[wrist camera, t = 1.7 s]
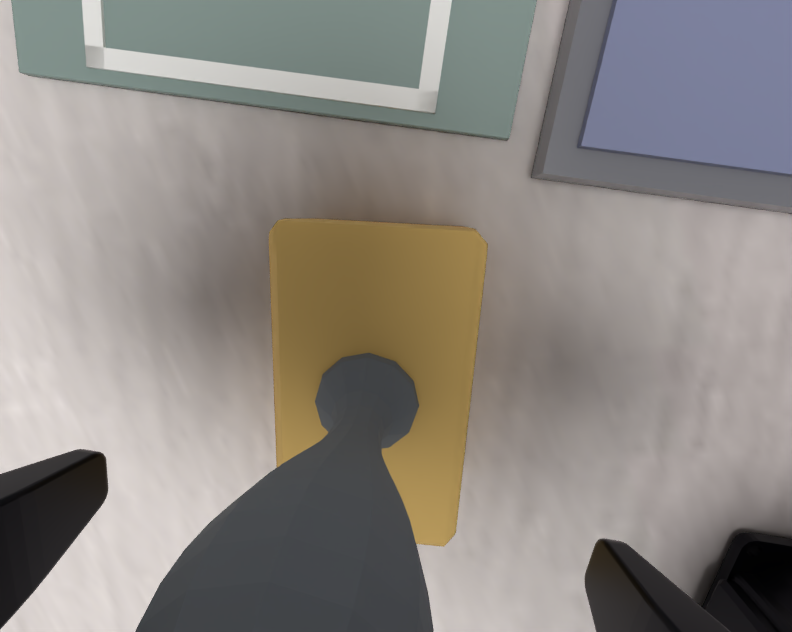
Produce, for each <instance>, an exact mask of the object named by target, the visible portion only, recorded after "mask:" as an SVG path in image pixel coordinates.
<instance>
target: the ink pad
mask: <svg viewBox="0 0 792 632" xmlns="http://www.w3.org/2000/svg"><path fill="white" fill-rule="evenodd" d="M531 178H538V179H545V180H553V181H560V182H567V183H574V184H582V185H589V186H596V187H603V188H610V189H618V190H625V191H632V192H639V193H647V194H654V195H661V196H668V197H676V198H683V199H690V200H697V201H704V202H712V203H719V204H726V205H733V206H741V207H748V208H755V209H762V210H770V211H777V212H784V213H791V214H792V0H570V3H569V7H568V12H567V17H566V21H565V26H564V30H563V35H562V39H561V44H560V49H559V53H558V58H557V62H556V67H555V71H554V76H553V80H552V85H551V90H550V94H549V99H548V103H547V108H546V112H545V117H544V121H543V126H542V131H541V135H540V140H539V144H538V149H537V153H536V158H535V163H534V167H533V172H532V176H531Z"/></svg>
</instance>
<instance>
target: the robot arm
mask: <svg viewBox="0 0 792 632" xmlns="http://www.w3.org/2000/svg"><path fill="white" fill-rule="evenodd" d="M107 493H108V478H107V464H106V457H105V456H104V454H103V453H101V452H97V451H91V450H85V449H78V450H74V451H71V452H68V453H65V454H62V455H58V456H55V457H52V458H49V459H46V460H43V461H40V462H37V463H34V464H30V465H27V466H24V467H21V468H18V469H15V470H12V471H9V472H6V473H2V474H0V629H1V628H2V627H3V626H4V625H5V624H6V623H7V621H8V620H9V619H10V618H11V617H12V616H13V615H14V614H15V613H16V612H17V610H18V609H19V608H20V607H21V606H22V605H23V604H24V602H25V601H26V600H27V599H28V598H29V597H30V596H31V594H32V593H33V592H34V591H35V590H36V588H37V587H38V586H39V585H40V583H41V582H42V581H43V580H44V579H45V577H46V576H47V575H48V574H49V572H50V571H51V570H52V568H53V567H54V566H55V565H56V563H57V562H58V561H59V559H60V558H61V557H62V556H63V554H64V553H65V552H66V551H67V549H68V548H69V547H70V545H71V544H72V543H73V542H74V540H75V539H76V538H77V536H78V535H79V534H80V533H81V531H82V530H83V529H84V527H85V526H86V525H87V524H88V522H89V521H90V520H91V519H92V517H93V516H94V515H95V513H96V512H97V511H98V510H99V508H100V507H101V506H102V504H103V503H104V501H105V499H106V496H107ZM585 588H586V593H587V597H588V601H589V605H590V608H591V612H592V616H593V620H594V624H595V628H596V632H792V539H787V538H781V537H775V536H769V535H763V534H757V533H751V532H745V533H742V534H739V535H738V536H736V537H735V539H734V540H733V542H732V544H731V546H730V548H729V550H728V553H727V555H726V557H725V559H724V561H723V563H722V566H721V568H720V570H719V572H718V574H717V576H716V578H715V581H714V583H713V585H712V587H711V589H710V591H709V594H708V596H707V598H706V600H705V602H704V604H703V607H701V606H700V605H698V604H697V603H696V602H695V601H694V600H693V599H691V598H690V597H689V596H688V595H687V594H685V593H684V592H683V591H682V590H681V589H680V588H678V587H677V586H676V585H675V584H674V583H672V582H671V581H670V580H669V579H668V578H667V577H665V576H664V575H663V574H662V573H661V572H659V571H658V570H657V569H656V568H655V567H654V566H652V565H651V564H650V563H649V562H648V561H646V560H645V559H644V558H643V557H642V556H640V555H639V554H638V553H637V552H636V551H635V550H633V549H632V548H631V547H630V546H629V545H627V544H626V543H624V542H621V541H616V540H610V539H599V540H598V541H597V542H596V544H595V547H594V550H593V553H592V555H591V558H590V561H589V564H588V567H587V570H586V574H585Z"/></svg>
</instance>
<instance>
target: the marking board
mask: <svg viewBox="0 0 792 632" xmlns="http://www.w3.org/2000/svg"><path fill="white" fill-rule="evenodd" d="M11 2H12V11H13V20H14V29H15V38H16V47H17V57H18V66H19V72H20V73H23V74H26V75H28V76H36V77H43V78H50V79H58V80H65V81H73V82H80V83H87V84H95V85H102V86H110V87H117V88H124V89H132V90H139V91H147V92H154V93H161V94H169V95H176V96H184V97H191V98H198V99H206V100H213V101H221V102H228V103H235V104H243V105H250V106H257V107H265V108H272V109H280V110H287V111H294V112H302V113H309V114H317V115H324V116H331V117H339V118H346V119H354V120H361V121H368V122H376V123H383V124H391V125H398V126H405V127H413V128H420V129H428V130H435V131H442V132H450V133H457V134H464V135H472V136H479V137H487V138H494V139H501V140H508V139H509V137H510V132H511V127H512V122H513V117H514V112H515V107H516V102H517V97H518V92H519V87H520V82H521V77H522V72H523V67H524V62H525V57H526V52H527V47H528V42H529V37H530V32H531V27H532V22H533V17H534V12H535V7H536V2H537V0H11Z"/></svg>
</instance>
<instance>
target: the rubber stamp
mask: <svg viewBox="0 0 792 632" xmlns="http://www.w3.org/2000/svg"><path fill="white" fill-rule="evenodd" d="M487 248H488V244H487V243H486V241H485V240H484V239H483V238H482V237H481V235H480V234H479V233H478V232H477V231H476V230H475V229H473V228H468V227H463V226H444V225H426V224H407V223H389V222H370V221H352V220H333V219H281V220H278V221H277V222H276V224H275V225H274V226H273V228H272V229H271V230H270V232H269V262H270V291H271V319H272V347H273V376H274V404H275V433H276V461H277V468H276V469H274V470H273V471H272V472H270V473H269V474H267V475H266V476H265V477H264V478H263V479H261V480H260V481H259V482H258V483H256V484H255V485H254V486H253V487H251V488H250V489H249V490H248V491H247V492H245V493H244V494H243V495H242V496H240V497H239V498H238V499H237V500H236V501H234V502H233V503H232V504H231V505H230V506H228V507H227V508H226V509H225V510H224V511H223V512H222V513H220V514H219V515H218V516H217V517H216V518H215V519H213V520H212V521H211V522H210V523H209V524H208V525H207V526H206V527H205V528H204V529H203V530H202V532H201V533H200V534H199V535H198V536H197V537H196V538H195V539H194V540H193V541H192V542H191V543H190V544H189V546H188V547H187V548H186V549H185V550H184V551H183V553H182V554H181V556H180V557H179V558H178V560H177V561H176V563H175V564H174V565H173V567H172V568H171V570H170V571H169V572H168V574H167V575H166V576H165V578H164V579H163V581H162V582H161V583H160V585H159V587H158V589H157V591H156V593H155V595H154V597H153V599H152V600H151V602H150V604H149V606H148V608H147V610H146V612H145V614H144V616H143V618H142V620H141V621H140V623H139V625H138V627H137V629H136V632H433V624H432V617H431V610H430V603H429V596H428V591H427V587H426V583H425V579H424V575H423V570H422V566H421V562H420V558H419V554H418V550H417V546H416V544H424V545H434V546H445V545H446V544H447V543H448V542H449V540H450V539H451V538H452V537H453V536H454V535H455V533H456V525H457V516H458V507H459V499H460V490H461V481H462V472H463V463H464V454H465V445H466V436H467V427H468V419H469V410H470V401H471V392H472V383H473V374H474V365H475V356H476V348H477V339H478V330H479V321H480V312H481V303H482V294H483V285H484V276H485V268H486V259H487Z"/></svg>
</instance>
